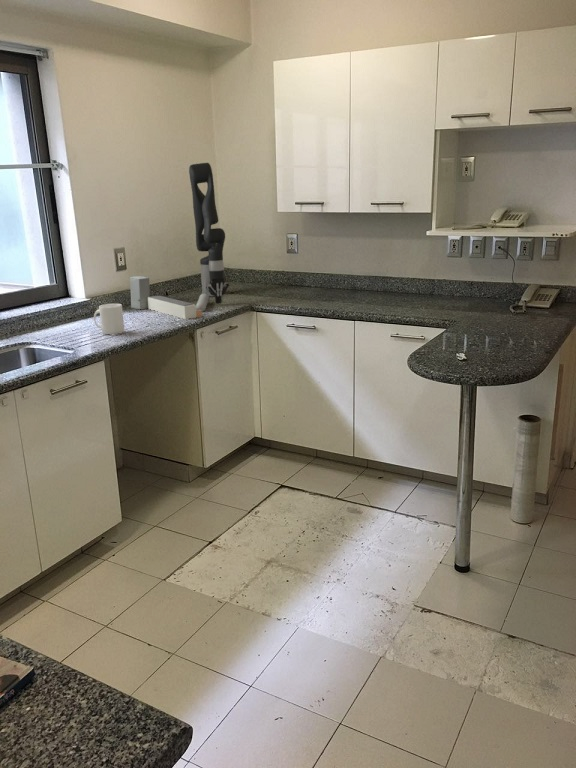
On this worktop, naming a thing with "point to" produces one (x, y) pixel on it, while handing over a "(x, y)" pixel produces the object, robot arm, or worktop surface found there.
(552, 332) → the worktop surface
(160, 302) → the long cream box
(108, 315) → the mug
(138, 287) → the skincare box
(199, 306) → the tube
